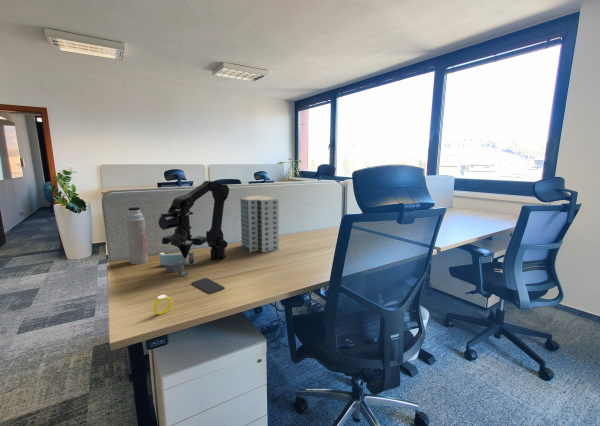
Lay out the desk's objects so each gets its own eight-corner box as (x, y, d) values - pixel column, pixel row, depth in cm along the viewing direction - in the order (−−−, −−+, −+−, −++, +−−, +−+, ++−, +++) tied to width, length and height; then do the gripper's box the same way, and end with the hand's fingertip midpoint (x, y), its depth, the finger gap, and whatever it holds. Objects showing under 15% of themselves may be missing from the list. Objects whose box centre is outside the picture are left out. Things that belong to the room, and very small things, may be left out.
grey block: (188, 272, 132) (188, 260, 131) (184, 276, 127) (183, 263, 126) (182, 272, 132) (181, 260, 131) (177, 276, 128) (176, 263, 127)
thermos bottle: (151, 259, 149) (147, 206, 144) (140, 264, 141) (135, 209, 137) (138, 258, 151) (133, 206, 146) (126, 263, 143) (120, 208, 138)
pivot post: (197, 262, 145) (197, 251, 144) (193, 265, 141) (193, 254, 140) (189, 262, 146) (188, 250, 144) (185, 265, 141) (184, 253, 140)
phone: (209, 293, 110) (190, 282, 120) (209, 295, 110) (190, 284, 120) (225, 287, 115) (206, 277, 125) (226, 289, 116) (206, 279, 125)
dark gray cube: (178, 269, 136) (178, 262, 135) (174, 272, 132) (173, 265, 131) (170, 269, 136) (170, 262, 136) (166, 272, 132) (165, 265, 132)
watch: (157, 318, 94) (155, 302, 92) (153, 315, 95) (150, 299, 94) (174, 309, 99) (172, 293, 97) (169, 307, 100) (167, 291, 99)
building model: (238, 245, 175) (236, 197, 170) (261, 241, 185) (260, 195, 179) (254, 254, 159) (252, 201, 154) (278, 249, 169) (278, 198, 163)
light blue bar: (185, 264, 142) (185, 253, 141) (160, 265, 140) (159, 254, 139) (186, 262, 144) (186, 251, 143) (161, 264, 142) (160, 252, 141)
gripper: (153, 228, 123) (156, 263, 126) (194, 229, 121) (196, 264, 124) (167, 223, 134) (170, 255, 137) (205, 224, 132) (207, 256, 135)
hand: (185, 258), depth 133 cm, fingers closed
